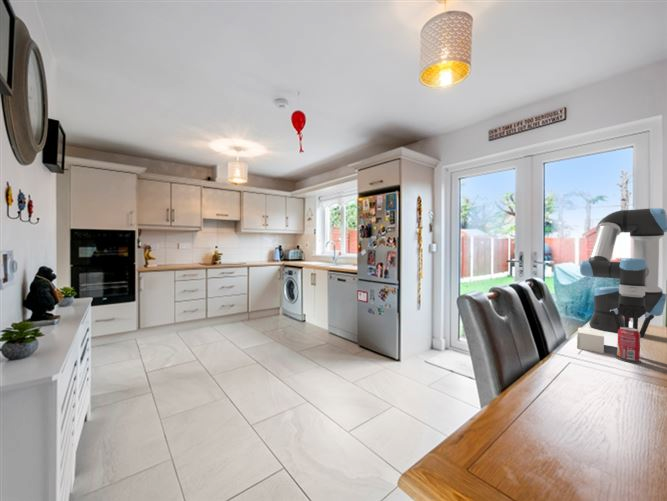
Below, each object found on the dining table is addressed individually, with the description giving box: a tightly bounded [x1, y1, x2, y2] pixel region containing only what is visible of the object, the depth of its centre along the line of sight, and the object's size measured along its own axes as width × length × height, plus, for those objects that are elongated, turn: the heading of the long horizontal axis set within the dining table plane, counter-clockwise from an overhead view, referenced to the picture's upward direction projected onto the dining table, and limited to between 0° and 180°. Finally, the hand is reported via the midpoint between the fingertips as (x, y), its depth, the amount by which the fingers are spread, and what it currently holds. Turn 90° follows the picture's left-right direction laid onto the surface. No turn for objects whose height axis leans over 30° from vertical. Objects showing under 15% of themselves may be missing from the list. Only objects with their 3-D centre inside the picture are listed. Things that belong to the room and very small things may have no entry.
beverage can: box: [616, 326, 641, 361], centre depth 114 cm, size 6×6×12 cm
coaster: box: [615, 355, 642, 364], centre depth 114 cm, size 7×7×1 cm
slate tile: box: [604, 344, 617, 355], centre depth 123 cm, size 6×9×2 cm, turn 49°
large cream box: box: [576, 327, 605, 354], centre depth 128 cm, size 8×11×7 cm
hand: (629, 352), depth 120 cm, fingers closed
